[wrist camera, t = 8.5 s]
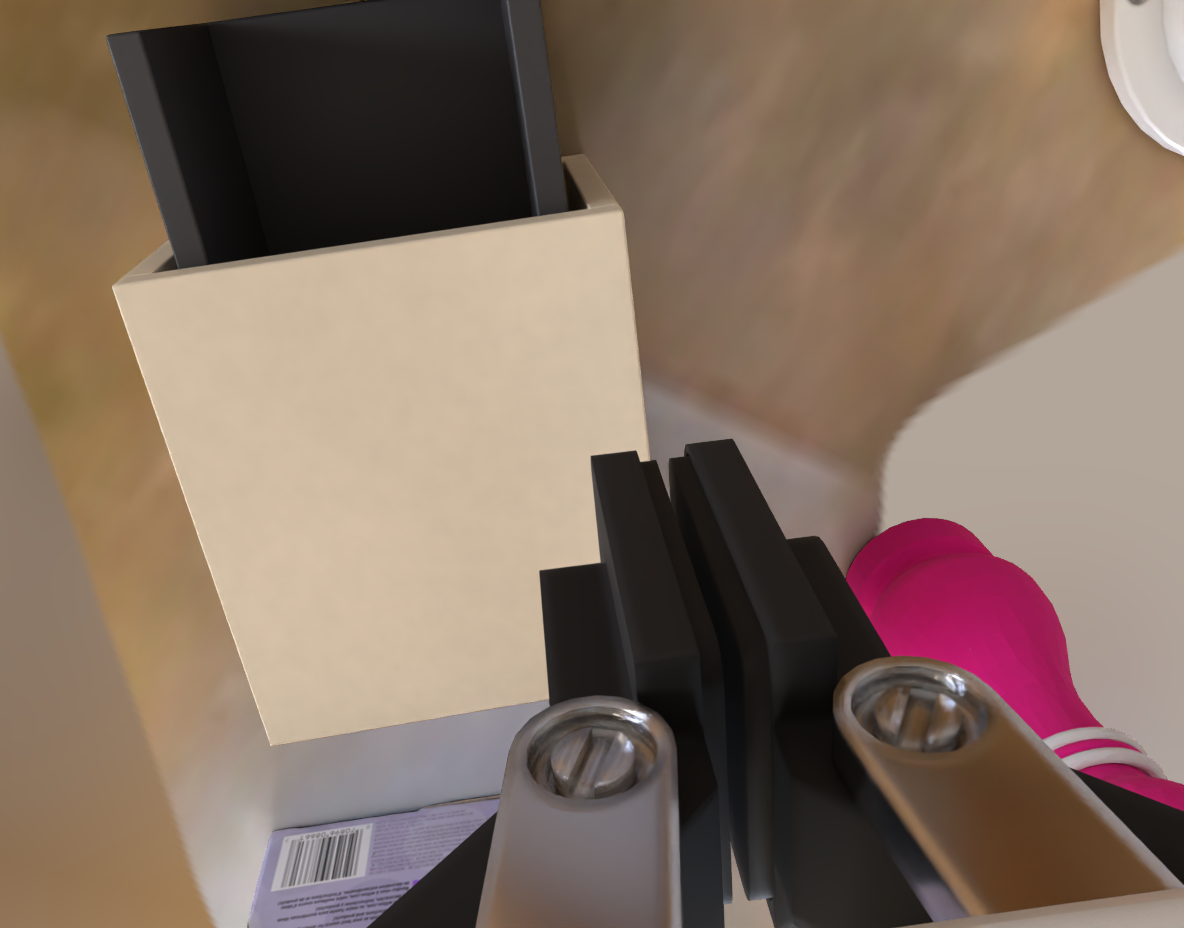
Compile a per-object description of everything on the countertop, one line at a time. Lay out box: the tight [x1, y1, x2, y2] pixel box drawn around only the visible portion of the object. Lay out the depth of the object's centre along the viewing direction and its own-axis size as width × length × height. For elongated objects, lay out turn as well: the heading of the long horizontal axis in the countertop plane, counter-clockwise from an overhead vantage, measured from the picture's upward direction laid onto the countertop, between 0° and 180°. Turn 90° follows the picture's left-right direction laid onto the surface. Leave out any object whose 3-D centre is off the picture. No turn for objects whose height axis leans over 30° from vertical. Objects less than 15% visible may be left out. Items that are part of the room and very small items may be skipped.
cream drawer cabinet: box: [112, 154, 651, 746], centre depth 32 cm, size 15×13×10 cm
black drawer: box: [106, 0, 568, 269], centre depth 27 cm, size 18×11×8 cm, turn 7°
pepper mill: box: [846, 518, 1184, 811], centre depth 33 cm, size 7×7×20 cm
